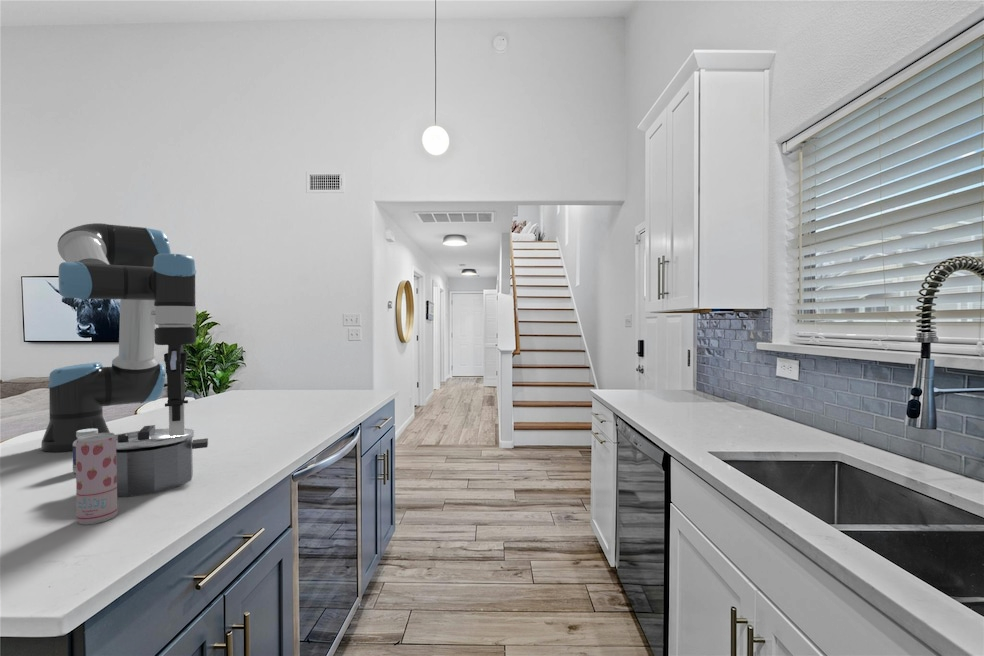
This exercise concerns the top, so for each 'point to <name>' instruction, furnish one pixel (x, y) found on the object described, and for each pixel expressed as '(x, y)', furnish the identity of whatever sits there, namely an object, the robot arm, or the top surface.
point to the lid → (149, 438)
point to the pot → (155, 467)
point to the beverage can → (96, 478)
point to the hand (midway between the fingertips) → (177, 435)
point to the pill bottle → (78, 434)
